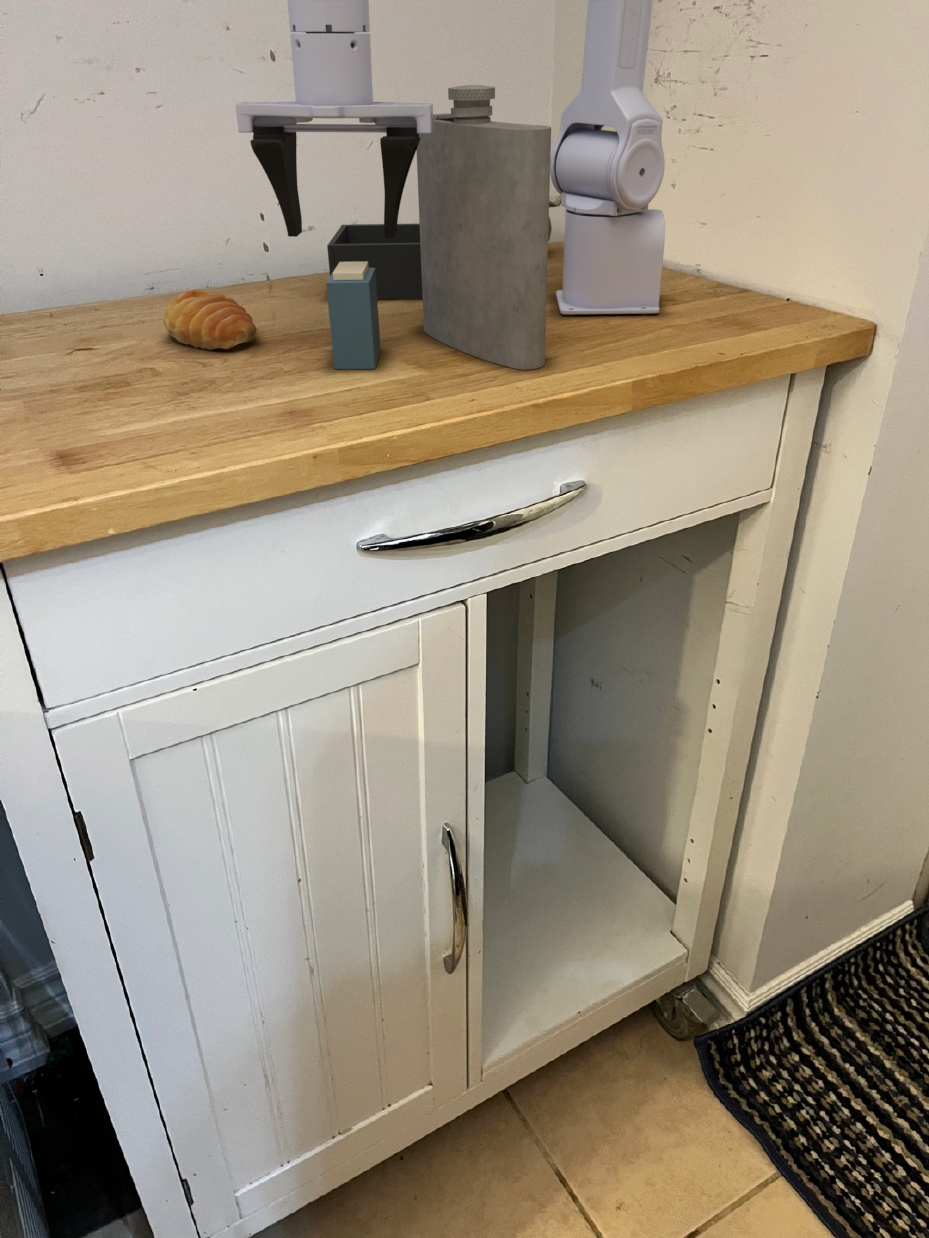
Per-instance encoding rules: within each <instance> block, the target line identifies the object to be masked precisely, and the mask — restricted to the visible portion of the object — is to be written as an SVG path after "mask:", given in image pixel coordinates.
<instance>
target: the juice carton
mask: <svg viewBox="0 0 929 1238" xmlns="http://www.w3.org/2000/svg"><path fill="white" fill-rule="evenodd" d="M325 285H326V295H327V305H328V316H329V328H330V337H331V347H332V348H331V349H332V358H333V369H334V370H375V369H376V367H377V365H378V360H379V357H380V355H381V352H382V351H381V350H382V348H381V334H380V333H381V332H380V318H379V300H377V285H376V270H375V268H369V265H368V261H365V262H339V264H338V265H337V267H336V268H335V269H334V271H333V273H332V274H331V276H330V275H329V277H328V279H327V281H326V282H325Z"/></svg>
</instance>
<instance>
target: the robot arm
mask: <svg viewBox="0 0 929 1238" xmlns="http://www.w3.org/2000/svg"><path fill="white" fill-rule="evenodd" d="M653 2H654V0H587V11H586V22H585V23H586V24H585V33H584V45H583V46H584V47H583V60H582V69H581V70H582V71H581V83H580V90H579V91H578V93H577V94H576V96H575V97H574V98H573V99H572V100H571V101H570V103H569V104H568V105H566V107H565V108H564V109H563V111H562V113H561V116H560V126H559V132H558V136H557V139H556V140H555V141H556V142H555V143H554V145H553V148H552V152H551V157H550V181H551V183H552V185H553V187H554V189H555V190H556V192H557V193H558V195H562V197H561V205H560V206H561V207H564V208H565V213H564V214H565V215H564V241H563V243H564V244H563V267H562V289H559V290H558V289H557V290H556V291H555V297H556V301H557V306H558V309H559V313H560V314H561V315H565V316H567V315H635V314H636V315H638V314H640V315H641V314H644V315H645V314H648V315H650V314H651V315H652V314H659V313H660V297H661V284H662V275H663V274H662V273H663V263H664V255H665V253H664V252H665V240H666V239H665V237H666V225H665V224H666V223H665V221H666V220H665V215H664V212H663V210H662V209H656V208H654V209H653V208H651V209H649V205H650V203H651V202H652V201H653V200H654V198H655V197H656V195H657V194H658V192H659V190H660V188H661V185H662V183H663V179H664V175H665V154H664V148H663V142H662V131H663V123H664V120H663V119H664V118H662V116H661V114H660V113H659V111H658V110H657V109H656V108H655V107H654V105H653V104H652V103H651V102H650V100H649V99H648V98H647V97H646V95H645V94H644V84H645V83H644V82H645V74H646V65H647V57H648V56H647V55H648V47H649V38H650V29H651V19H652V12H653V4H654V3H653ZM287 12H288V23H289V32H290V33H289V37H290V47H291V48H290V49H291V60H292V73H293V84H294V95H295V97H294V98H295V101H242V102H241V101H240V102H236V103H235V113H236V121H237V130H238V133H241V134H242V133H247V134H248V133H252V139H251V140H250V147H251V149H252V153H254V155H255V157H256V159H257V160H258V162H259V164H260V165H261V167H262V169H263V171H264V173H265V174H266V177H267V179H268V181H269V183H270V185H271V187H272V189H273V193H274V194H275V196H276V199H277V202H278V205H279V208H280V210H281V214H282V216H283V220H284V224H285V227H286V232H287V237H289V238H290V237H295V238H297V237H299V235H301V234H302V233H303V220H302V218H303V217H302V211H301V210H302V209H301V203H300V196H299V188H298V168H297V167H298V165H297V161H298V160H297V142H298V141H297V139H298V136H297V133H380V134H381V133H385V135H384V136H381V137H380V139H379V141H380V143H379V144H380V153H381V164H382V174H383V175H382V176H383V190H384V204H383V205H384V206H383V207H384V209H383V210H384V211H383V213H384V214H383V224H384V232H385V238H394V237H395V236H396V234H397V224H398V223H399V222H398V221H399V213H400V207H401V202H402V198H403V193H404V189H405V186H406V182H407V178H408V175H409V173H410V169H411V166H412V164H413V160H414V158H415V156H416V155H415V154H416V153H417V147H418V144H419V142H420V137H419V134H431V133H432V132H433V115H434V103H432V102H396V101H395V102H394V101H393V102H391V101H374V93H373V92H374V91H373V90H374V89H373V71H372V69H373V68H372V67H373V66H372V48H371V46H372V44H371V33H370V32H371V27H370V4H369V0H287ZM313 119H358V120H359V124H356V123H355V124H354V123H353V124H352V123H346V124H345V123H339V124H338V123H334V124H333V123H309V122H312V121H313ZM373 123H374V124H373ZM605 126H607V127H610V128H613V129H614V130H607V129H606V130H605V129H603V128H604V127H605Z"/></svg>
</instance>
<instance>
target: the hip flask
mask: <svg viewBox="0 0 929 1238" xmlns="http://www.w3.org/2000/svg"><path fill="white" fill-rule="evenodd" d="M447 90H448V91H447V94H448V98H447V99H448V100H449V101H453V107H450V113H449V112H448V113H436V114H435V113H433V132H432V133H431V134H419V137H420V142H419V144H418V147H417V150H416V169H417V170H416V173H417V195H418V198H417V199H418V218H419V219H418V221H419V223H418V224H420V247H421V271H422V295H423V299H422V313H423V314H422V316H423V317H422V319H423V332H424V333H426V334H427V335H428V336H430V337H432V338H433V339H435V340H437V341H438V342H441V343H442V344H444V345H446V346H448V347H451V348H452V349H455V350H457V351H460V352H462V353H465V354H467V355H469V356H472V357H474V358H477V359H480V360H484V361H486V362H490V363H493V364H496V365H501V366H503V367H506V368H507V367H508V368H511V369H514V370H520V371H521V370H526V371H527V370H537V369H540V368H542V367H544V366H545V364H546V336H547V335H546V331H547V300H548V299H547V297H548V296H547V294H548V293H547V292H548V291H547V290H548V264H549V262H548V260H549V258H548V257H549V242H548V228H549V217H550V208H549V196H550V191H551V189H550V187H551V185H550V184H551V175H550V159H551V154H552V152H551V149H552V126H550V125H539V124H527V123H513V122H502V121H501V122H500V121H492V119H491V116H494V115H493V114H494V113H493V105H491V100H495V99H496V87H495V86H490V85H483V84H482V85H481V84H466V85H465V84H464V85H458V86H453V87H448V88H447Z"/></svg>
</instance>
